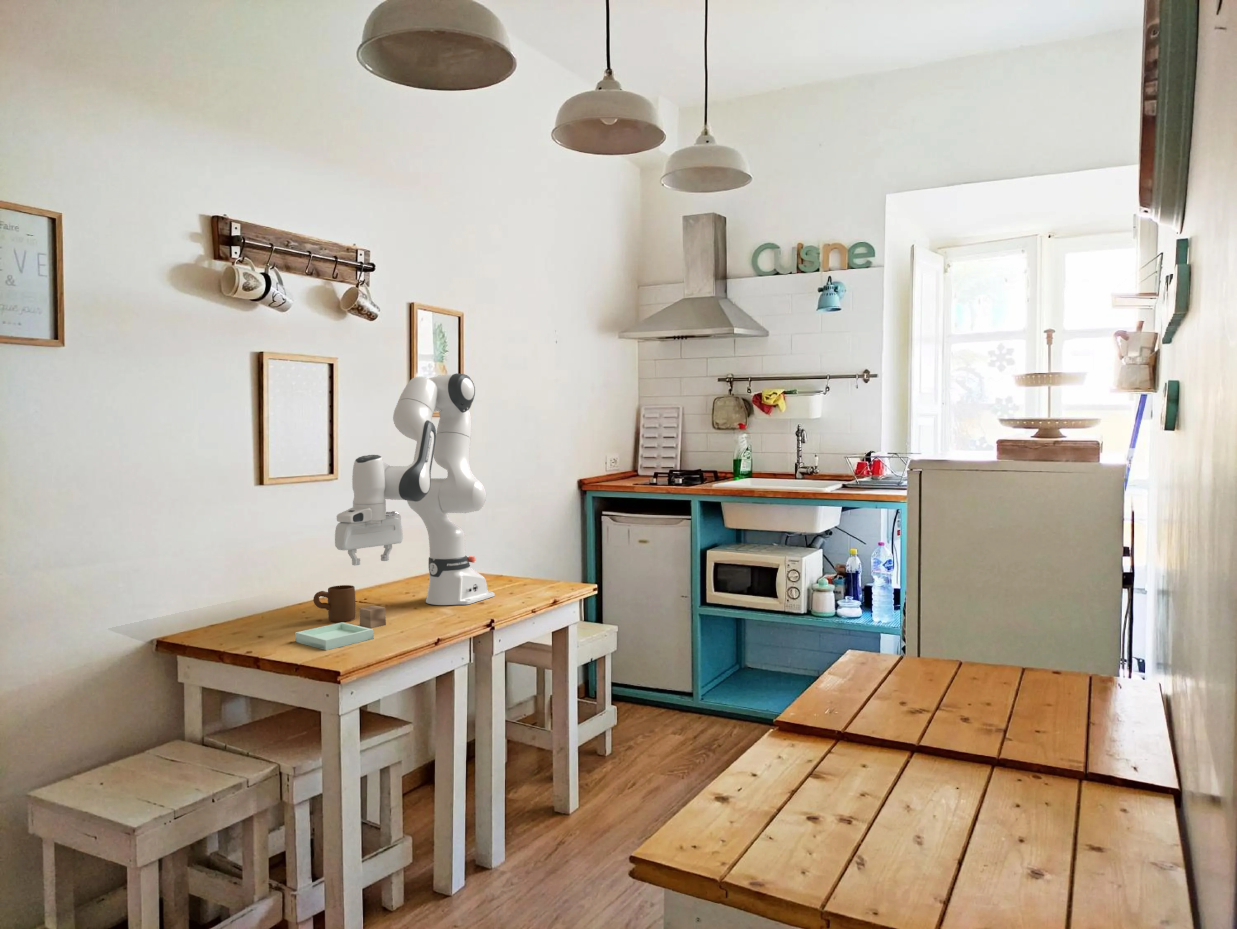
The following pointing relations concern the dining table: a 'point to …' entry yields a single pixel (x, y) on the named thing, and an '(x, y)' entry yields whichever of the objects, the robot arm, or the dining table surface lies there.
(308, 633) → the tray
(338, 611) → the mug
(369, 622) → the block
